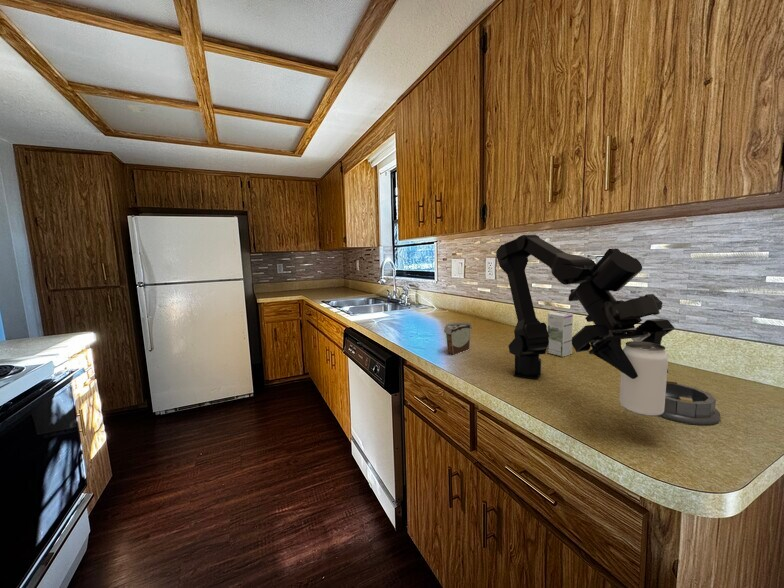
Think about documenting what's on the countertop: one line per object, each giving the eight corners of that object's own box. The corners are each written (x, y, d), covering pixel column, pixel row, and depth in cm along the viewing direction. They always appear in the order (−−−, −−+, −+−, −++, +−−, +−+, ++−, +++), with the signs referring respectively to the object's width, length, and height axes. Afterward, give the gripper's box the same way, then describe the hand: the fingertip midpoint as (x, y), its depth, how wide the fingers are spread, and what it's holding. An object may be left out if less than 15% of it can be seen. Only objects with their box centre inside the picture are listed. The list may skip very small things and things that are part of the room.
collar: (645, 416, 65) (646, 395, 65) (633, 392, 76) (634, 374, 76) (732, 431, 59) (734, 408, 58) (705, 402, 70) (707, 383, 70)
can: (620, 397, 62) (623, 338, 61) (663, 406, 58) (668, 343, 57) (618, 410, 57) (621, 346, 56) (664, 421, 53) (669, 353, 52)
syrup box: (572, 354, 106) (573, 312, 105) (562, 357, 103) (563, 314, 102) (556, 350, 111) (557, 310, 110) (546, 353, 108) (547, 312, 107)
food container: (458, 346, 121) (458, 320, 120) (471, 349, 117) (471, 323, 116) (437, 353, 114) (436, 326, 113) (450, 356, 109) (450, 328, 108)
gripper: (585, 282, 57) (641, 360, 47) (667, 277, 60) (734, 349, 51) (553, 317, 65) (595, 388, 56) (627, 310, 69) (677, 377, 60)
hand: (650, 375), depth 55 cm, fingers closed on can, 6 cm apart
